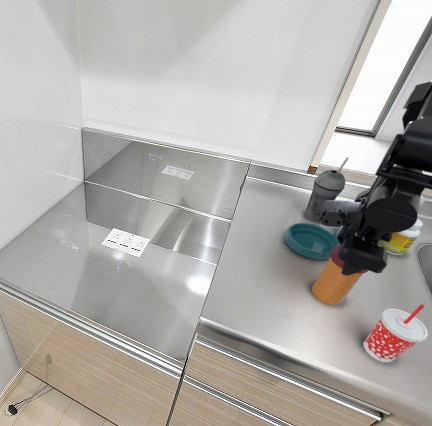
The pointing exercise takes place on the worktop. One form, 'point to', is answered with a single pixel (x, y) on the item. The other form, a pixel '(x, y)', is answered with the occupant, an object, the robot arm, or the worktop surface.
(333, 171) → the beverage cup
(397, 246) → the supplement bottle
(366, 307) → the worktop surface
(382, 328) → the beverage cup
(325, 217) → the robot arm
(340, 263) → the lid
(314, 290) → the jar
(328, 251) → the dish
